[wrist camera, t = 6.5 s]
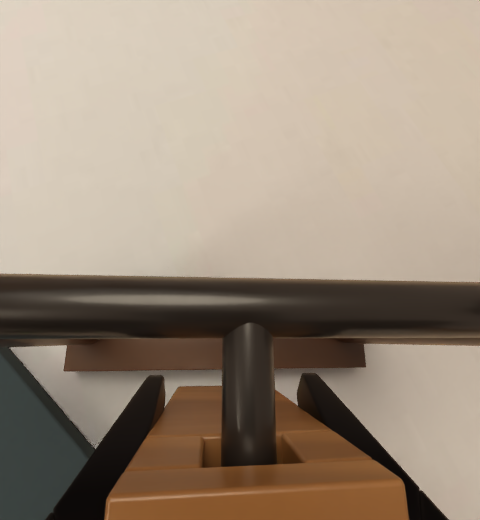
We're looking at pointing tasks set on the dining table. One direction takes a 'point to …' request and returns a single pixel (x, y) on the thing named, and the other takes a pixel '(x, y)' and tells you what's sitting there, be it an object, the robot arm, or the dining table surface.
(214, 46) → the dining table surface
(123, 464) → the robot arm
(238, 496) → the oak block with hole
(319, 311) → the rail stand
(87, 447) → the rubber mat
